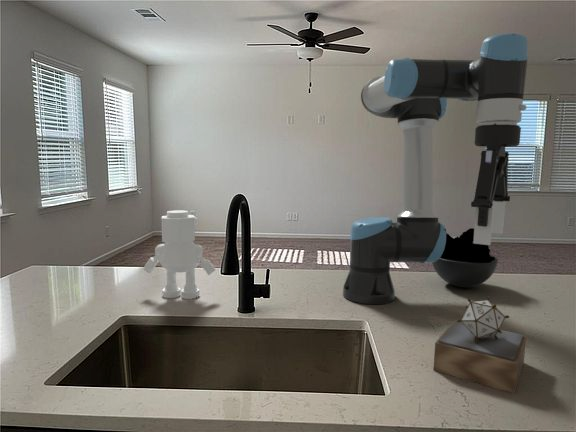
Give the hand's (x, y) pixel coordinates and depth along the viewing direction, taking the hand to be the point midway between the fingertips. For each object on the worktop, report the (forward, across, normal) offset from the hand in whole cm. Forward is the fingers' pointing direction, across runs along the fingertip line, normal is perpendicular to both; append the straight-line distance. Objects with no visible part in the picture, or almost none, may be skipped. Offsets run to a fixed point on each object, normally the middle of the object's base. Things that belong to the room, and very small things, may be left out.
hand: (489, 238), depth 81 cm
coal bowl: (+26, +55, +16) cm, 63 cm away
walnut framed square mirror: (+26, 0, 0) cm, 26 cm away
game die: (+20, 0, 0) cm, 20 cm away
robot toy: (+26, -6, +81) cm, 85 cm away
